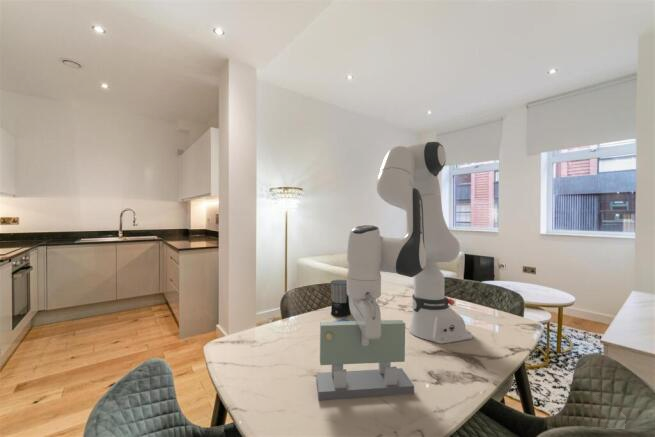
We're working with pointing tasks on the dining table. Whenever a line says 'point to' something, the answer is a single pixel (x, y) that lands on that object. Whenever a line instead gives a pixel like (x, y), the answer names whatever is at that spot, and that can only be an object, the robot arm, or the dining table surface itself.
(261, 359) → the dining table surface
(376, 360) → the cabinet door
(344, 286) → the milk frother
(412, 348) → the dining table surface
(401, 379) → the hinge base
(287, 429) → the dining table surface
